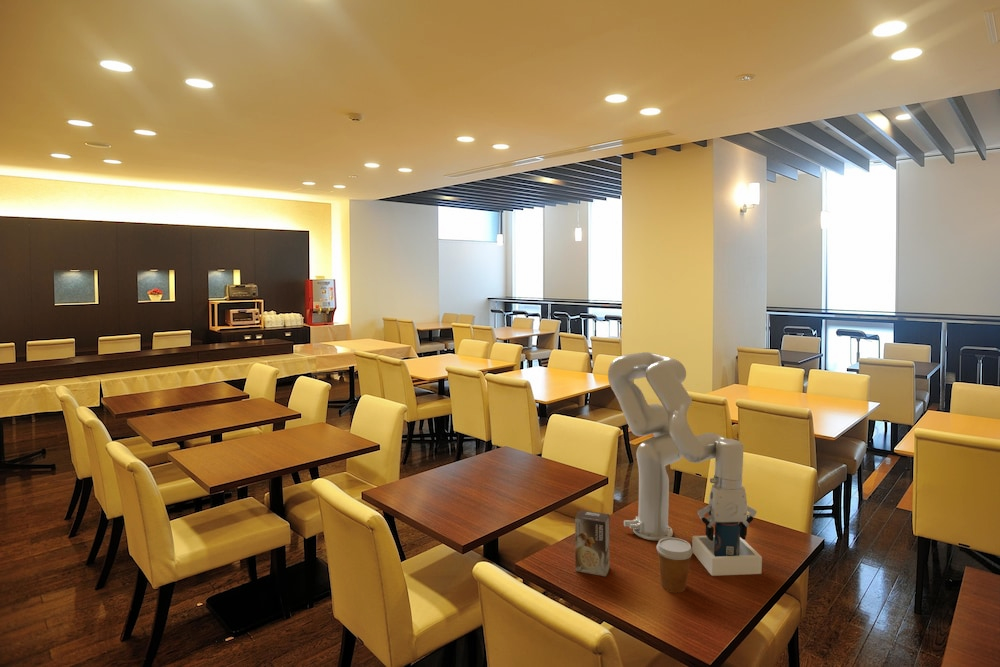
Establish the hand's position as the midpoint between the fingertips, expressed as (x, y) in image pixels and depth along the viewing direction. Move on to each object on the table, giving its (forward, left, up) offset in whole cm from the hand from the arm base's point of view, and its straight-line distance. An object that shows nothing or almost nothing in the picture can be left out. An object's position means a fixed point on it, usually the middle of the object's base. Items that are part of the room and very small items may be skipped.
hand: (725, 538), depth 172 cm
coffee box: (-40, -1, -8) cm, 41 cm away
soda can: (0, 0, -7) cm, 7 cm away
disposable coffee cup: (-20, -12, -8) cm, 24 cm away
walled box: (0, 0, -7) cm, 7 cm away
